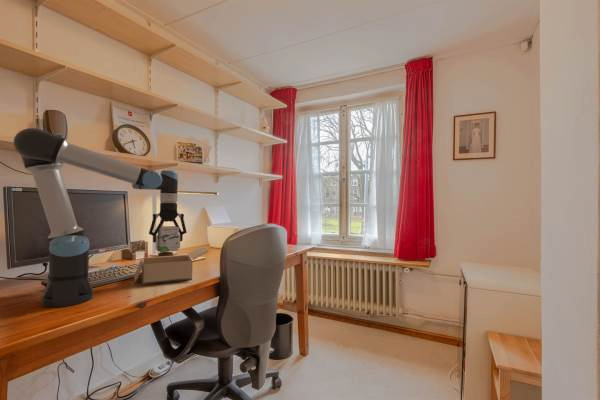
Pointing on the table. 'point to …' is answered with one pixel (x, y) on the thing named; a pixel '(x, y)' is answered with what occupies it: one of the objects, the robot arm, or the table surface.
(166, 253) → the mug
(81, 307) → the table surface
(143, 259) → the carton
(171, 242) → the ink box
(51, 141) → the robot arm
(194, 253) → the flap
